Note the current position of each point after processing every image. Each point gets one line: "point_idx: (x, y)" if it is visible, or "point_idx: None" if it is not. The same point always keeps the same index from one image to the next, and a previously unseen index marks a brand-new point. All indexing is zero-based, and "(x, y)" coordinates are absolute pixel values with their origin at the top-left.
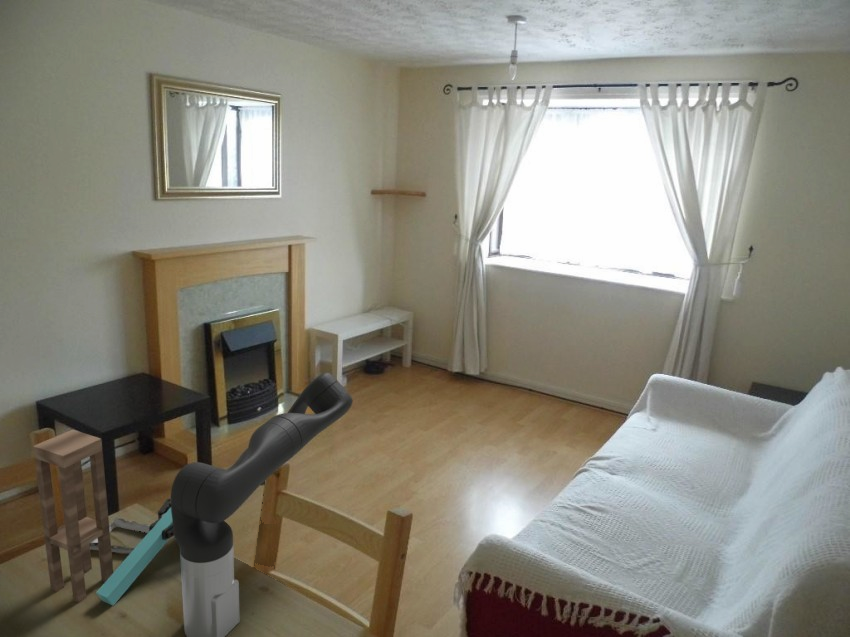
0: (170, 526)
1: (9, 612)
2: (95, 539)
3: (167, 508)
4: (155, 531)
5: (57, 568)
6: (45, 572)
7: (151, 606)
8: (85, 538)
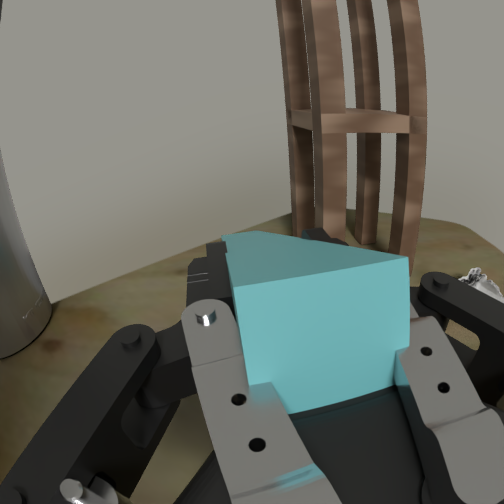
0: (218, 267)
1: (347, 209)
2: (501, 297)
3: (491, 347)
4: (270, 242)
5: (359, 191)
6: (426, 240)
7: (146, 303)
8: (300, 110)
